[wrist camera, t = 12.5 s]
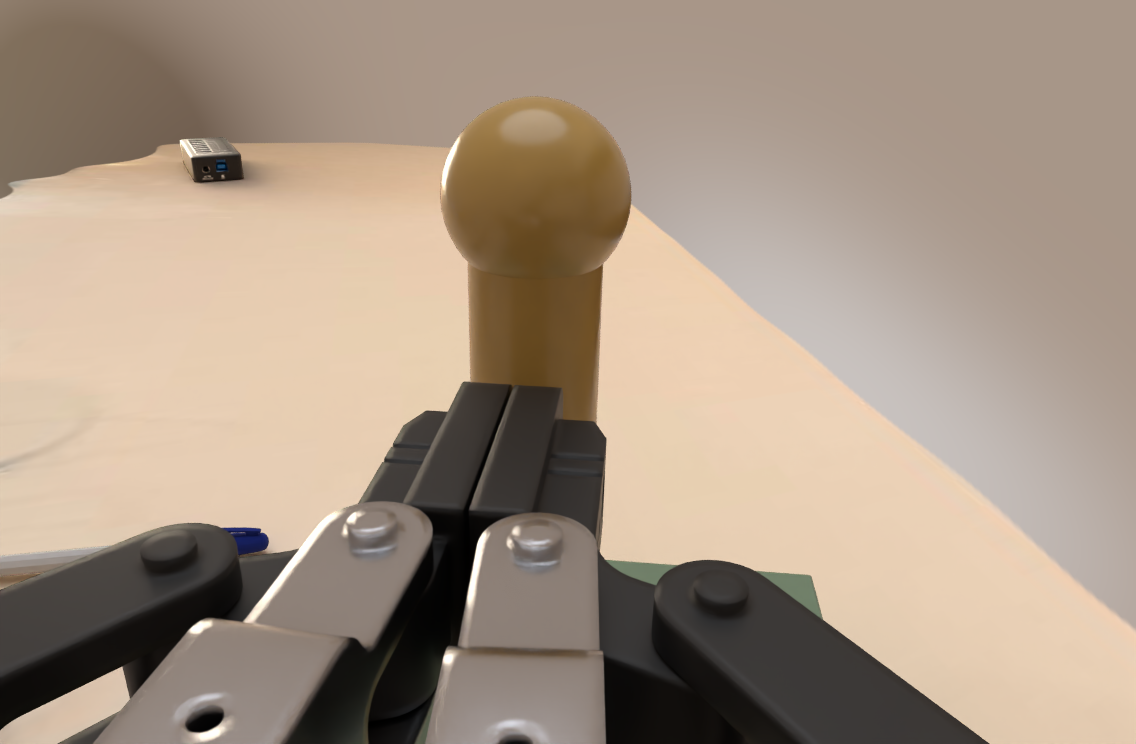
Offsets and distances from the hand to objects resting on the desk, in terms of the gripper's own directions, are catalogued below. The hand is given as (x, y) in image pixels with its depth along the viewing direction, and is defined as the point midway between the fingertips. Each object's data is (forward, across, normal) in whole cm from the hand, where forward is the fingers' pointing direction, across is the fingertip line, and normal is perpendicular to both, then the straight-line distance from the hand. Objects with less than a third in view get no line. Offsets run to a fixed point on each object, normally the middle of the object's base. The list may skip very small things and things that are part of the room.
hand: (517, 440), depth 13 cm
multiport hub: (+72, -41, -11) cm, 84 cm away
